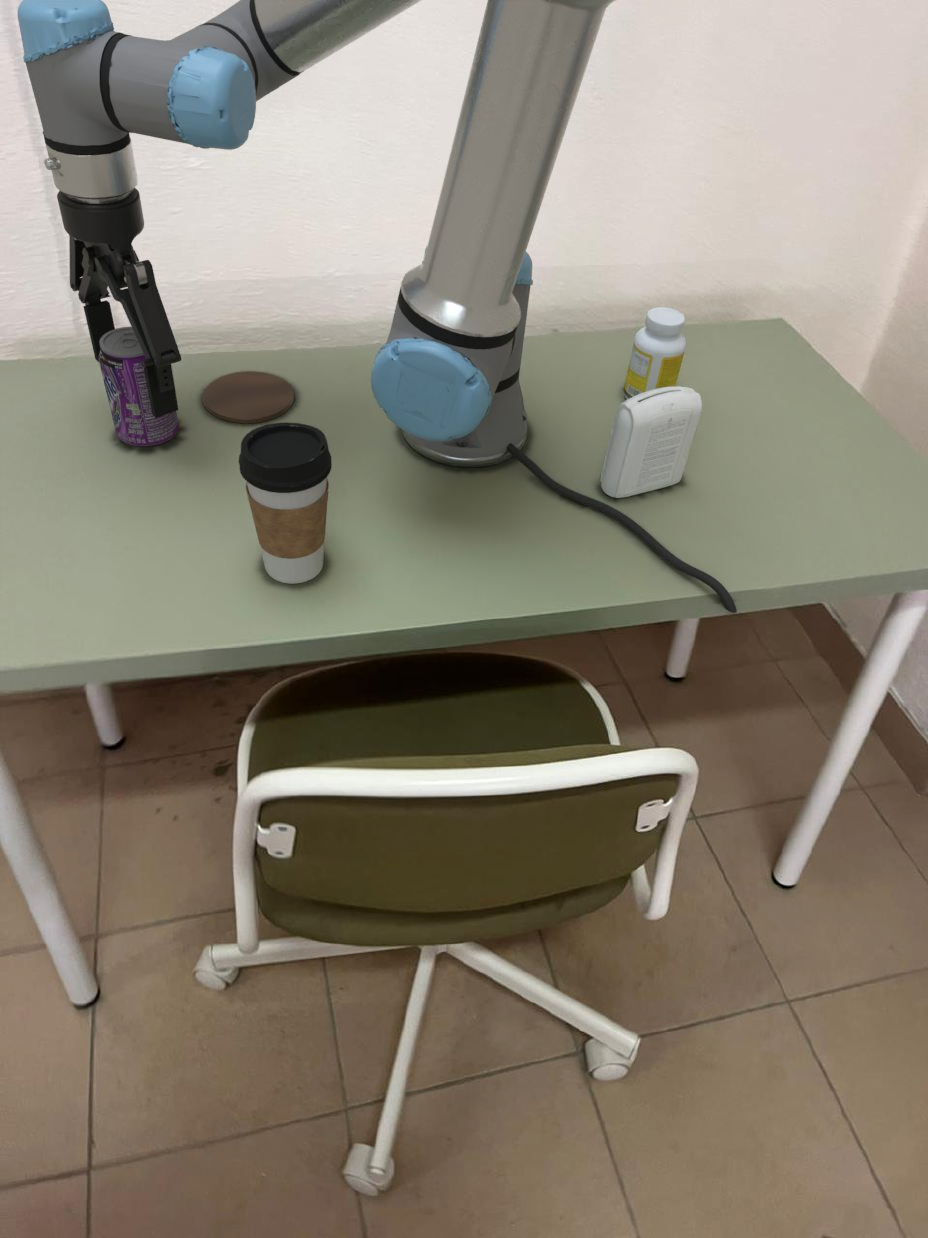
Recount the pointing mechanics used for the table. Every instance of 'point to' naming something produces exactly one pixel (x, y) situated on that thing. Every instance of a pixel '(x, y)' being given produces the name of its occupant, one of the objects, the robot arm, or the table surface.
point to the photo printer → (650, 441)
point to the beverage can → (131, 391)
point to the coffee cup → (288, 496)
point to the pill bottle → (656, 352)
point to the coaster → (248, 397)
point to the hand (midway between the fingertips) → (135, 384)
